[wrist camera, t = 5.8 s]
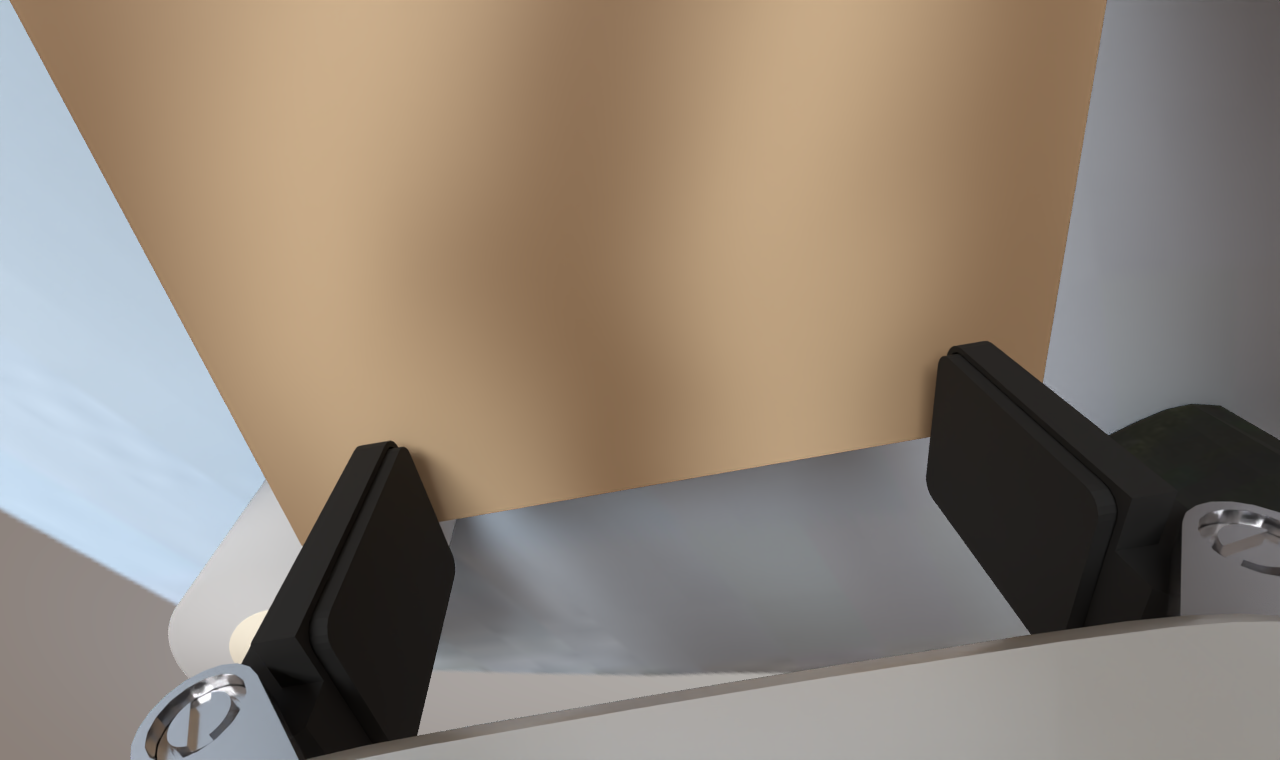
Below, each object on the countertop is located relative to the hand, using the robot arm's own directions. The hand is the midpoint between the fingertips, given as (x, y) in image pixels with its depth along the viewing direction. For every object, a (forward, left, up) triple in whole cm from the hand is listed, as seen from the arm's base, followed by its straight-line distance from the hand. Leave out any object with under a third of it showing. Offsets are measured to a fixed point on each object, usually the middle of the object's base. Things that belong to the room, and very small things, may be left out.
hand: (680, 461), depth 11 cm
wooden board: (0, -5, -1) cm, 5 cm away
